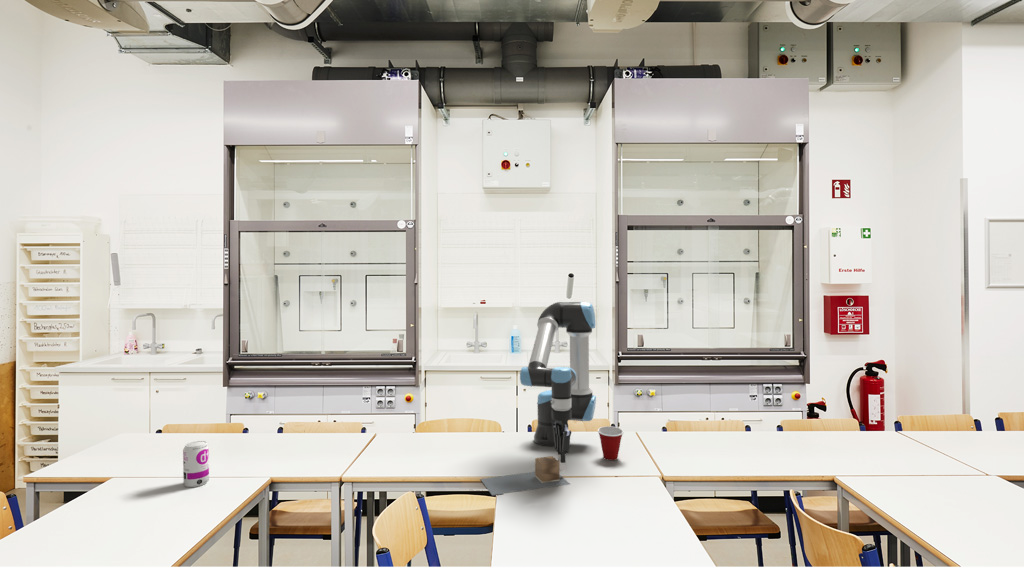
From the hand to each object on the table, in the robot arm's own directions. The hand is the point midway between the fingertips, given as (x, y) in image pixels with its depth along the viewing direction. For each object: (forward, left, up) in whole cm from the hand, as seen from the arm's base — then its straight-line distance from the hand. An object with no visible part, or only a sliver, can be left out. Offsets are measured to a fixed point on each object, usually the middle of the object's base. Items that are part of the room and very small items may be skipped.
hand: (561, 470), depth 208 cm
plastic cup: (-28, -13, -3) cm, 31 cm away
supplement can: (+131, -39, -3) cm, 137 cm away
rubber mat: (+15, 0, -3) cm, 15 cm away
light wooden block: (+6, 0, -2) cm, 6 cm away
